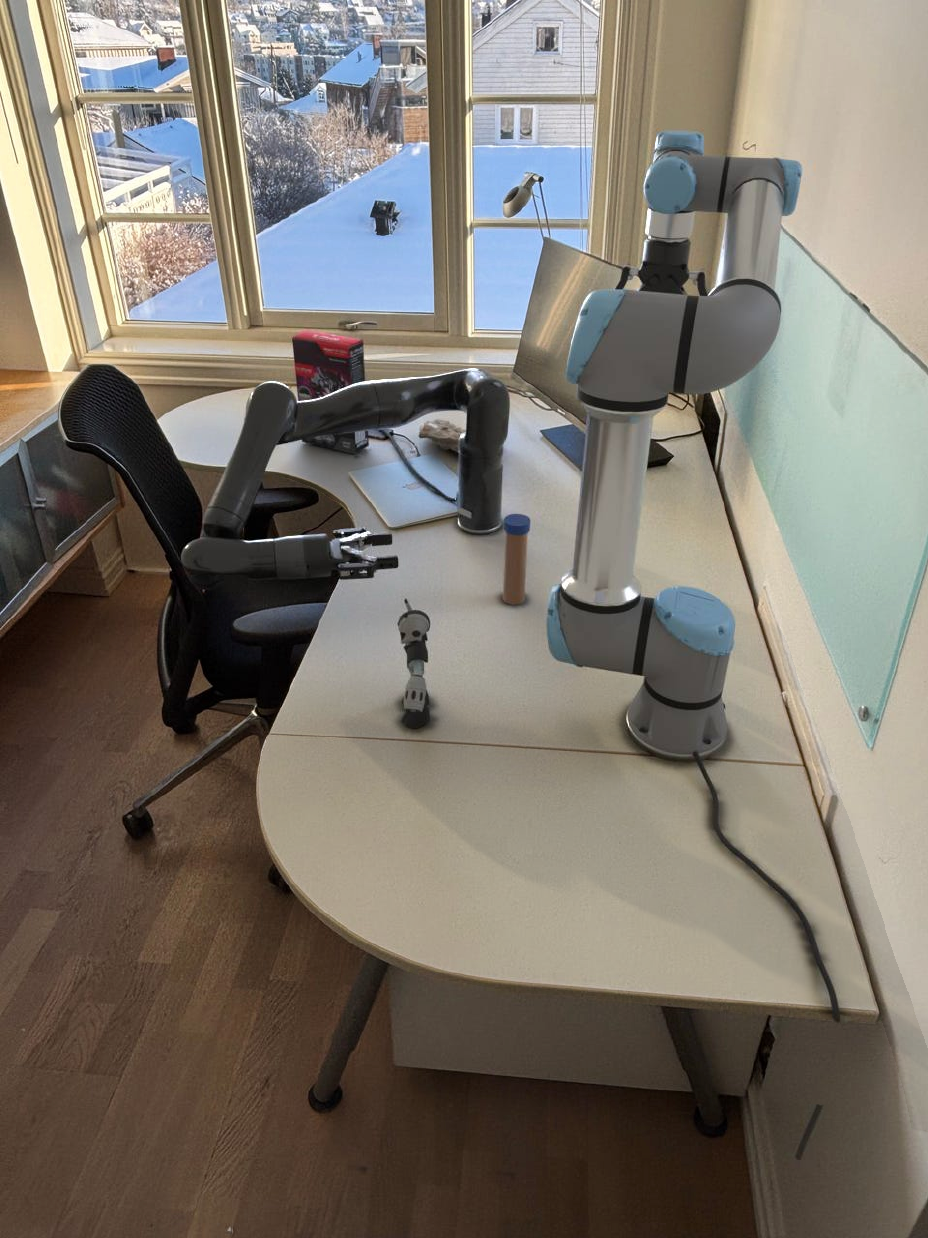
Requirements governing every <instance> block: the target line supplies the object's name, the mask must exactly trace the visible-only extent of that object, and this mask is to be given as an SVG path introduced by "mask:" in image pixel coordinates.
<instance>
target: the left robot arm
mask: <svg viewBox="0 0 928 1238" xmlns="http://www.w3.org/2000/svg"><path fill="white" fill-rule="evenodd" d="M250 392H251V393H250V394H249V395H248V398H247V400H246V404H245V411H244V418H243V424H242V428H241V430H240V433H239V435H238V436H239V437H238V440H237V442H236V444H235V447H234V450H233V452H232V454H231V455H230V456H231V457H230V458H229V460H228V463H227V464H226V467H225V469H224V471H223V473H222V475H221V477H220V479H219V481H218V483H217V485H216V487H215V489H214V491H213V493H212V496H211V499H210V500H209V503H208V504H207V507H206V509H205V511H204V514H203V517H202V531H201V535H200V537H199V538H196V539H194V540H191V541H190V542H188V543H187V544H186V545H185V546H184V547H183V549H182V551H181V554H180V561H181V564H182V568H183V570H184V572H185V574H186V576H187V579H188V581H189V582H190V583H191V584H192V586H193V587H195V588H197V589H199V590H202V591H210V590H211V591H212V590H214V589H216V588H218V587H220V586H221V585H222V584H223V583H224V582H225V581H226V580H227V577H228V576H241V577H243V578H245V579H246V580H248V581H253V582H254V581H255V582H256V581H257V582H258V581H259V582H260V581H270V580H271V581H272V580H301V579H314V578H326V577H327V578H328V577H330V576H331V575H332V570H337V571H338V572H337V573H338V579H339V580H341V581H344V580H346V581H348V580H365V579H367V580H368V579H374V578H375V573H377V571H381V570H391V569H398V568H399V566H400V565H399V557H398V555H396V554H395V555H394V554H393V555H383V556H376V557H374V556H371V555H367V554H366V552H365V551H364V550H365V549H367V548H370V547H381V546H382V547H383V546H391V545H392V544H393V533H392V532H376V533H371V531H368V530H367V527H364V526H363V527H351V528H343V529H342V528H341V529H335V530H333V531H332V536H333V539H331V540H329V535H328V534H327V533H312V534H300V535H298V534H297V535H286V536H282V537H277V538H265V539H254V540H253V539H252V540H245V539H240V537H241V534H242V532H243V530H244V528H245V526H246V524H247V521H248V519H249V516H250V515H251V512H252V510H253V507H254V504H255V502H256V499H257V497H258V494H259V491H260V487H261V484H262V482H263V478H264V475H265V472H266V469H267V466H268V464H269V462H270V459H271V457H272V455H273V453H274V450H275V448H276V447H277V446H280V445H286V444H290V443H294V442H299V441H302V440H303V439H308V438H312V437H317V436H323V435H332V434H343V433H351V432H360V431H368V432H371V431H381V432H382V433H384V434H385V435H386V437H388V439H389V440H390V441H391V442H392V444H393V445H394V447H395V449H396V450H397V451H398V453H399V455H400V457H401V458H402V460H403V462H404V463H405V464H406V466H407V467H408V469H409V470H410V471H411V472H412V473H413V474H414V475H415V476H416V477H417V478H418V479H419V480H420V481H421V482H422V483H424V484H425V485H426V486H428V487H429V488H430V489H432V490H433V491H434V492H436V493H437V494H438V495H439V496H440V497H442V498H443V499H445V500H447V501H449V502H454V503H456V507H457V512H458V513H457V526H458V527H459V529H461V530H462V531H464V532H467V533H468V534H474V535H486V534H490V533H494V532H496V531H498V530H499V529H500V528H501V527H502V507H503V504H502V503H503V475H504V447H505V446H504V445H505V443H506V440H507V438H508V433H509V423H510V412H511V411H510V407H511V399H510V392H509V389H508V387H507V385H506V384H505V383H504V382H503V381H502V380H501V379H499V378H498V377H496V376H495V374H493V373H491V372H490V371H488V370H486V369H484V368H480V367H473V368H466V369H462V370H461V369H460V370H456V371H451V372H447V373H442V374H437V375H432V376H416V377H405V378H391V379H389V378H387V379H378V380H367V381H366V380H365V382H360V383H356V384H353V385H351V386H348V387H346V388H343V389H341V390H338V391H336V392H334V393H331V394H329V395H327V396H324V397H321V398H318V399H314V400H308V401H298V399H297V397H296V395H295V393H294V392H293V390H292V389H291V388H290V387H288V386H287V385H286V384H284V383H281V382H279V381H278V382H277V381H267V382H263V383H261V384H259V385H257V386H256V387H255V388H254V389H253V390H252V391H250ZM452 411H453V412H463V413H465V414H466V415H465V416H466V419H465V420H466V421H465V430H466V432H464V433H463V434H462V435H461V436H460V438H459V453H458V491H456V497H455V498H456V500H455V498H454V497H450V496H449V495H446V494H445V493H444V492H442V491H441V490H440V489H438V487H437V486H435V485H434V484H433V483H431V482H429V481H428V480H427V479H425V477H423V476H422V475H421V474H420V473H419V472H417V470H416V468H414V467H413V466H412V464H411V463H410V461H409V460H408V459H407V458H406V456H405V454H404V452H403V450H402V449H401V447H400V446H399V445H398V443H397V442H396V440H395V438H394V437H393V436H392V435H391V434H390V433H389V432H388V431H387V430H389V429H395V428H400V427H403V426H406V425H408V424H410V423H412V422H414V421H416V420H418V419H419V418H422V417H423V416H426V415H429V414H432V413H438V412H439V413H440V412H452Z"/></svg>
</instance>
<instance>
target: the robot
mask: <svg viewBox="0 0 928 1238" xmlns="http://www.w3.org/2000/svg"><path fill="white" fill-rule="evenodd" d="M403 602H404V604H405V607H406V610H407V611H406V612H404V613H403V614H402V615H400V616H399V617H398V621H397V623H396V624H397V625H396V626H397V627H398V629H397V630H398V631H399V635H400V644H401V645H403V649H404V652H405V654H406V669H408V671H409V674H410V677H409V678H408V679H407V680H408V681H407V682H406V685H405V689H404V696H403V697H402V700H401V705H402V706H403V708H404V713H403V716H402V718H401V723H402V725H404V726H405V727H406V728H410V729H419V728H421V727H424V726H426V725H428V724H429V722H430V719H431V717H430V716H431V715H430V709H429V706H430V695H429V692H428V689H427V683H426V678H425V677H424V674H425V664H427V663H429V650H428V648H427V641H429V640H428V639H429V638H428V634H427V633H428V632H430V629H431V620H430V617H429V615H428V614H427V613H426V612H424V611H422V610H419V609H413V608H412V606H411V604H410V602H409V600H408V599H407V598H404V600H403Z"/></svg>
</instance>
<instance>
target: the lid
mask: <svg viewBox="0 0 928 1238" xmlns="http://www.w3.org/2000/svg"><path fill="white" fill-rule="evenodd" d="M503 530H504V533H505V532H507V533H509V534H512V535H523V534H526V533H528V534H529V532H530V530H531V518H530V517H529V516H528V515H525V514H522V513H510V514H508V515H505V517H504V518H503Z"/></svg>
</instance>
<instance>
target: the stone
mask: <svg viewBox="0 0 928 1238" xmlns="http://www.w3.org/2000/svg"><path fill="white" fill-rule="evenodd" d="M418 429H419V432H418V437H419V439H430V440H431V441H432V443H433V444H436V445H438V446H439V447H440V449H443V450H446V451H448V450H451V451H453V452H456V453H458V454H459V438H460V436H461V435H462V434H463V433H464V432H466V429H463V428H462V427H459V426H456V425H455V424H454V423H451V422H450V421H449V420H443V419H437V418H436V419H433V420H426V421H424V423H423V424H421V425H420V426H419V428H418Z"/></svg>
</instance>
